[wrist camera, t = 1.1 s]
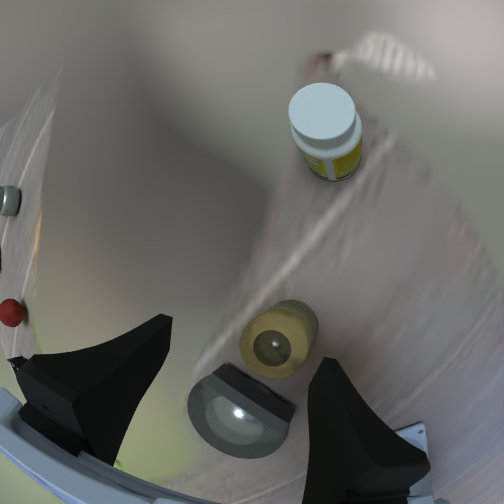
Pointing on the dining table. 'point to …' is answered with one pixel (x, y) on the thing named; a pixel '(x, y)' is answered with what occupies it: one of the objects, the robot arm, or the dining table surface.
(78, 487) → the robot arm
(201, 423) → the flange seat
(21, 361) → the sunglasses
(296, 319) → the cylinder
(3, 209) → the plastic bottle
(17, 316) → the onion
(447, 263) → the dining table surface
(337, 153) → the supplement bottle
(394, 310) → the dining table surface
